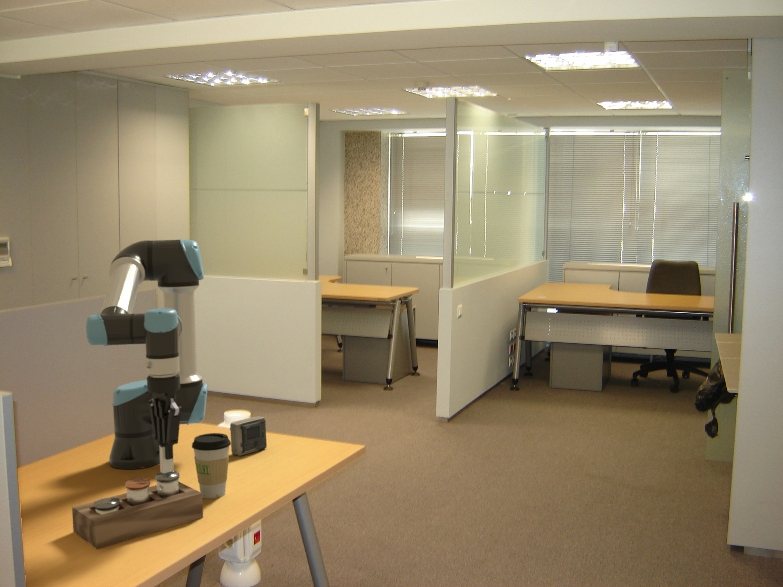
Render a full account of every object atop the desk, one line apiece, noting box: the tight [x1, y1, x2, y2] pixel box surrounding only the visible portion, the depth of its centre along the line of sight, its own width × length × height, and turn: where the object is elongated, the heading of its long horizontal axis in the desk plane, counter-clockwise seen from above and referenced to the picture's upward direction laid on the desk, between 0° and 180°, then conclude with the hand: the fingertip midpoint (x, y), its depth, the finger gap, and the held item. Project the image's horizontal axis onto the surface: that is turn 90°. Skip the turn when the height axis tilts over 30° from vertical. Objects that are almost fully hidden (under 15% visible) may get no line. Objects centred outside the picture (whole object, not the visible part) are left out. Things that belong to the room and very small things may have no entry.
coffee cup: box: [191, 432, 231, 499], centre depth 209 cm, size 10×10×15 cm
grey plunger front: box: [94, 497, 120, 515], centre depth 184 cm, size 6×6×7 cm
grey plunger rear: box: [154, 470, 180, 498], centre depth 194 cm, size 6×6×7 cm
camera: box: [229, 415, 268, 457], centre depth 245 cm, size 11×6×10 cm, turn 136°
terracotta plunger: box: [124, 477, 151, 506], centre depth 189 cm, size 6×6×7 cm
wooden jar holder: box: [71, 480, 204, 550], centre depth 189 cm, size 13×26×6 cm, turn 133°
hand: (167, 471), depth 193 cm, fingers closed
